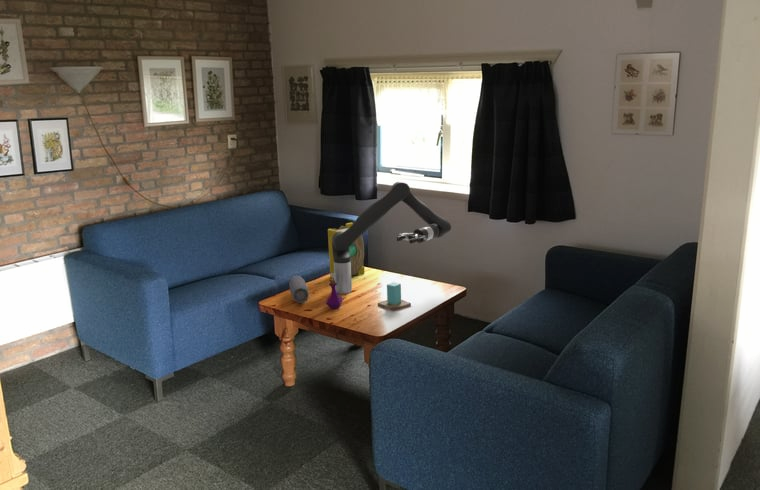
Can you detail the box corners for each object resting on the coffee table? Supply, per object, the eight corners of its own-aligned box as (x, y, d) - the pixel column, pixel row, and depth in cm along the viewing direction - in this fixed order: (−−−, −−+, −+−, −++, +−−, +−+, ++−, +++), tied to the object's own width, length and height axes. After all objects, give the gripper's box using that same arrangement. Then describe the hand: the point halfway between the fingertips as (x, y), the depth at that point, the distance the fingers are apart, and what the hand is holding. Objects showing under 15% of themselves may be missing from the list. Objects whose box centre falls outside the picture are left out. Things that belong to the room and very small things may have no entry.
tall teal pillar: (387, 303, 335) (386, 284, 332) (393, 300, 338) (393, 282, 336) (394, 305, 332) (394, 286, 329) (401, 302, 335) (400, 283, 333)
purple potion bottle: (339, 310, 332) (338, 276, 327) (325, 309, 333) (323, 275, 329) (343, 305, 339) (342, 271, 334) (329, 304, 340) (327, 271, 336)
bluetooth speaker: (310, 304, 341) (309, 286, 339) (292, 306, 340) (291, 287, 337) (306, 291, 363) (305, 273, 360) (289, 292, 361) (288, 275, 359)
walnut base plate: (377, 305, 336) (377, 290, 335) (396, 300, 344) (395, 285, 342) (392, 311, 327) (392, 296, 325) (410, 305, 334) (410, 291, 332)
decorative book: (339, 280, 379) (337, 230, 372) (328, 276, 388) (325, 227, 380) (366, 273, 392) (364, 224, 385) (354, 269, 400) (352, 221, 393)
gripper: (412, 225, 352) (392, 231, 340) (433, 229, 342) (414, 235, 331) (413, 239, 353) (393, 245, 342) (434, 243, 344) (414, 249, 333)
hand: (403, 240), depth 336 cm, fingers open, 8 cm apart
